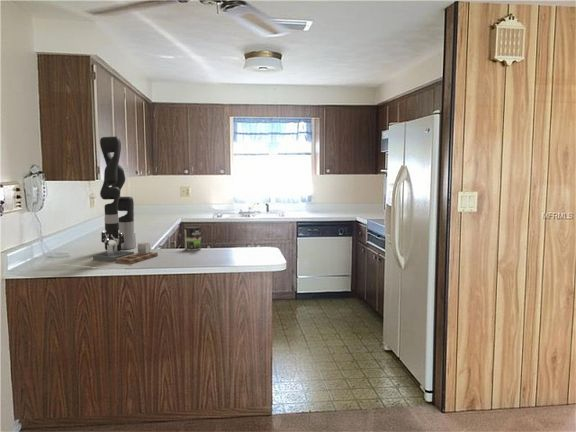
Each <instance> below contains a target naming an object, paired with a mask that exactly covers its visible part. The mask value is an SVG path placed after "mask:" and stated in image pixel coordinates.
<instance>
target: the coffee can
mask: <svg viewBox="0 0 576 432" xmlns="http://www.w3.org/2000/svg"><path fill="white" fill-rule="evenodd" d="M201 229H202V226H199V225H188V226H184V250H185V249H187V250H186V251H199V250H198V249H200V250H202V232H201Z"/></svg>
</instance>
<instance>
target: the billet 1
mask: <svg viewBox="0 0 576 432" xmlns="http://www.w3.org/2000/svg"><path fill="white" fill-rule="evenodd" d="M117 245H118V244H117V243H116V242H114V243H113V242H112V243H109V245H107V250H106V252H107V254H108V256H112V257H115V256H119V255H120V251H117Z"/></svg>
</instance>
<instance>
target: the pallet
mask: <svg viewBox="0 0 576 432" xmlns="http://www.w3.org/2000/svg"><path fill="white" fill-rule="evenodd" d="M158 255H159V253H158V252H157V251H156V252H155V251H150V254H147V255H143V254H138V252H134V254H131V255H127V256H123V257H120V258H116V262H115V263H119V264H128V265H129V264H130V266H133V264H135V263H139V262H143V261H146V260H149V259H153V258H156V257H158ZM131 264H132V265H131Z"/></svg>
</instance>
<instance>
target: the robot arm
mask: <svg viewBox="0 0 576 432" xmlns="http://www.w3.org/2000/svg"><path fill="white" fill-rule="evenodd" d="M99 145H100V149H101V153H102V155H103V158H104V161H105V168H104V172H103V174H104V175H103V176H104V177H103V183H102V186H101V189H100V192H99V194H100V198H101V199H102V200H108V201H109V200H113V201H112V202H110V203H105V204H104V230H105V231H101V233H100V234H101V243H102V244H104V249H105V251H107V245H109V244H110V241H114V243H117V244H118V245H117V251H122V250H131V249H134V248H136V247H137V242H136V232H135V223H134V221H135V218H134V216H135V213H134V212H135V211H134V209H135V208H134V207H135V206H134V205H135V204H134V198H133V197H132V196H121V190H122V189H123V186H124V185H125V182H126V176H125V171H124V168H123V166H122V165H120V164H119V163H120V158H121V153H122V152H121V151H122V141H121V138H120V137H119V136H117V135H116V136H115V135H114V136H102V137H101V138H100V139H99ZM111 153H113V154H111ZM112 155H113V156H112ZM119 212H126V213H125V214H124V215H122V216H119Z"/></svg>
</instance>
